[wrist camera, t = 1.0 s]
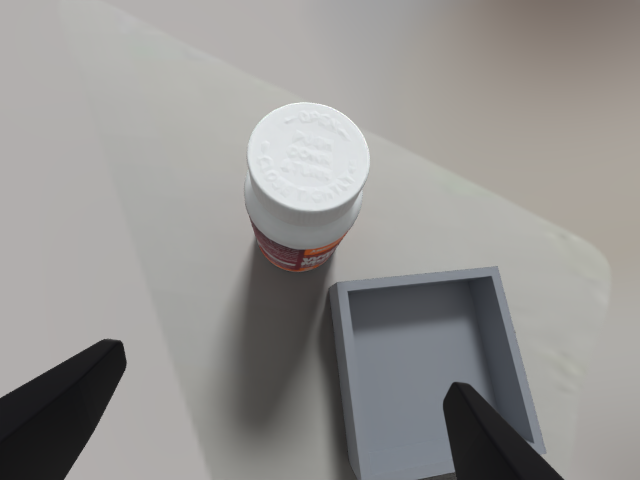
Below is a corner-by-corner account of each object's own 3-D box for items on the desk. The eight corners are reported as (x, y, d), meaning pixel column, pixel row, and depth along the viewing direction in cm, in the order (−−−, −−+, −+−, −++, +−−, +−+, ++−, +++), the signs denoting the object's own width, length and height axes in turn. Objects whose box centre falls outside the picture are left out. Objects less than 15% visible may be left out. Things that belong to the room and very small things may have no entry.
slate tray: (504, 432, 21) (546, 453, 18) (349, 461, 19) (362, 490, 16) (467, 274, 24) (497, 266, 20) (328, 288, 22) (336, 282, 19)
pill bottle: (308, 289, 22) (333, 258, 11) (239, 243, 22) (199, 169, 11) (351, 224, 24) (409, 142, 13) (287, 181, 24) (290, 67, 13)
